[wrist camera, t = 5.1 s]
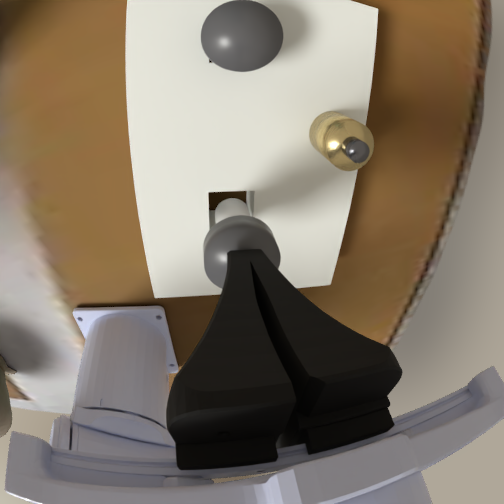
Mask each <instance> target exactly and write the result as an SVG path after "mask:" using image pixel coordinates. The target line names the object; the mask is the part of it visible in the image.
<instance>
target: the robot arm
mask: <svg viewBox="0 0 504 504" xmlns="http://www.w3.org/2000/svg"><path fill="white" fill-rule="evenodd" d="M73 315H74V317H75V319H76V321H77V323H78V325H79V327H80V329H81V331H82V333H83V335H84V337H85V339H86V341H85V346H84V350H83V355H82V359H81V364H80V369H79V374H78V379H77V385H76V390H75V396H74V403H73V409H72V413H71V415H70V417H69V416H66V415H61V416H60V417H58V418H56V419H54V421H53V425H52V430H51V436H50V442H49V443H47V442H46V441H44V440H43V439H40V438H38V437H35V436H31V435H27V434H23V433H19V432H15V431H12V433H11V438H10V444H9V451H8V459H7V468H6V479H5V491H6V493H8V494H11V495H13V496H15V497H18V498H21V499H23V500H26V501H29V502H32V503H35V504H432V501H431V498H430V495H429V493H428V490H427V487H426V484H425V481H424V479H423V476H422V474H421V471H422V470H424V469H426V468H428V467H430V466H432V465H434V464H436V463H437V462H439V461H441V460H443V459H444V458H446V457H448V456H450V455H451V454H453V453H454V452H456V451H458V450H459V449H461V448H463V447H464V446H466V445H467V444H469V443H470V442H472V441H473V440H475V439H476V438H478V437H479V436H481V435H482V434H484V433H485V432H486V431H488V430H489V429H490V428H492V427H493V426H494V425H496V424H497V423H498V422H499V421H501V420H502V419H503V418H504V383H503V381H502V379H501V378H500V376H499V374H498V372H497V371H496V369H495V367H494V366H492V367H490V368H488V369H486V370H484V371H482V372H481V373H479V374H478V375H477V376H475V377H474V378H473V379H472V380H471V381H470V382H469V383H468V385H467V386H465V387H463V388H461V389H459V390H458V391H455V392H453V393H451V394H449V395H447V396H445V397H443V398H441V399H439V400H437V401H434V402H432V403H430V404H427V405H425V406H423V407H421V408H418V409H415V410H413V411H410V412H408V413H405V414H403V415H400V416H398V417H395V418H392V417H391V415H390V413H389V410H388V408H387V407H389V406H390V402H389V399H388V397H387V395H388V394H389V393H390V392H391V390H392V389H393V388H394V387H395V385H396V384H397V383H398V381H399V380H400V378H401V376H402V369H401V367H400V366H399V363H398V361H397V359H396V357H395V355H394V354H393V352H392V351H391V349H390V348H389V347H388V346H385V345H383V344H381V343H378V342H376V341H374V340H371V339H369V338H367V337H365V336H363V335H361V334H359V333H357V332H355V331H353V330H351V329H350V328H348V327H346V326H345V325H343V324H341V323H340V322H338V321H337V320H335V319H334V318H332V317H330V316H329V315H328V314H326V313H325V312H323V311H322V310H321V309H319V308H318V307H317V306H316V305H314V304H313V303H312V302H310V301H309V300H308V299H307V298H306V297H305V296H304V295H303V294H302V293H300V292H299V291H298V290H297V289H296V288H295V287H294V286H293V285H292V284H291V283H290V282H289V281H288V280H287V279H286V277H285V276H284V275H283V274H282V273H281V272H280V271H279V270H278V269H277V267H276V266H275V265H274V264H273V263H272V262H271V260H270V259H269V258H268V257H267V255H266V254H265V253H264V252H263V251H262V250H261V249H249V250H232V251H229V252H228V253H227V273H226V277H225V282H224V286H223V289H222V292H221V295H220V298H219V301H218V304H217V307H216V309H215V312H214V314H213V316H212V319H211V321H210V323H209V325H208V327H207V329H206V331H205V333H204V335H203V336H202V338H201V340H200V342H199V343H198V345H197V346H196V348H195V350H194V351H193V353H192V354H191V356H190V357H189V359H188V360H187V362H186V363H185V364H184V366H183V367H182V368H181V370H180V371H179V372H178V364H177V360H176V356H175V353H174V349H173V345H172V341H171V337H170V332H169V328H168V324H167V320H166V315H165V311H164V308H163V307H161V306H136V307H99V308H75V309H74V311H73ZM158 315H160V316H158ZM80 317H81V318H80ZM176 372H178V374H177V375H176V376H175V378H174V381H173V384H172V387H171V390H170V393H169V373H176ZM274 471H278V472H276V473H272V474H267V475H262V476H258V477H252V478H247V479H241V480H235V481H228V482H221V483H214V481H213V480H211V479H215V478H227V477H237V476H246V475H254V474H261V473H268V472H274Z"/></svg>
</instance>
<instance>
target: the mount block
mask: <svg viewBox="0 0 504 504" xmlns="http://www.w3.org/2000/svg"><path fill="white" fill-rule="evenodd" d="M229 1H233V0H127V17H126V93H127V113H128V127H129V139H130V150H131V160H132V169H133V177H134V185H135V193H136V200H137V207H138V213H139V220H140V226H141V232H142V238H143V243H144V249H145V254H146V259H147V264H148V269H149V274H150V279H151V283H152V288H153V292H154V297H155V298H166V297H185V296H202V295H218V294H221V292H222V288H219V287H218V286H216V285H215V284H213V283H212V282H211V281H210V280H209V278H208V277H207V275H206V272H205V269H204V256H203V243H204V239H205V237H206V235H207V233H208V232H209V230H210V229H211V228H212V227H213V226H214V225H215V224H216V221H215V210H210V211H209V197H208V192H226V191H247V195H246V205H247V207H248V210H249V213H250V216H252V217H255V218H258V219H260V220H261V221H263V222H264V223H266V224H267V225H268V226H269V228H270V229H271V231H272V233H273V235H274V238H275V240H276V243H277V245H278V248H279V250H280V255H281V261H280V266H279V268H278V270H279V271H280V272H281V273H282V274H283V275H284V276H285V277H286V279H287V280H288V281H289V282H290V283H291V284H292V285H293V286H294V287H295V288H304V287H314V286H324V285H330V284H331V281H332V277H333V274H334V270H335V266H336V262H337V259H338V255H339V251H340V247H341V243H342V239H343V235H344V231H345V227H346V222H347V218H348V214H349V209H350V205H351V200H352V196H353V191H354V186H355V181H356V176H357V171H358V169H357V170H354V171H343V170H340V169H338V168H337V167H335V166H334V165H333V164H332V163H331V162H330V161H328V160H327V159H326V158H325V157H324V156H323V155H321V154H320V153H319V152H318V151H317V150H316V149H315V148H314V147H313V146H312V144H311V142H310V138H309V130H310V126H311V124H312V122H313V121H314V119H315V118H316V117H317V116H319V115H320V114H322V113H324V112H328V111H334V112H338V113H341V114H343V115H345V116H347V117H349V118H351V119H354V120H356V121H358V122H360V123H362V124H364V125H365V126H366V120H367V113H368V107H369V99H370V92H371V84H372V76H373V67H374V57H375V47H376V35H377V21H378V9H377V8H374V7H371V6H367V5H364V4H361V3H357V2H354V1H350V0H251V1H255V2H258V3H261V4H263V5H265V6H266V7H268V8H269V9H270V10H271V11H273V12H274V13H275V15H276V16H277V17H278V19H279V21H280V23H281V25H282V28H283V43H282V47H281V49H280V51H279V53H278V54H277V56H276V57H275V58H274V59H273V60H272V61H271V62H270V63H269V64H267V65H266V66H264V67H262V68H260V69H257V70H253V71H248V72H236V71H230V70H226V69H223V68H221V67H219V66H217V65H215V64H214V63H209V58H208V57H207V56H206V54H205V53H204V51H203V48H202V45H201V29H202V26H203V23H204V21H205V19H206V18H207V16H208V15H209V14H210V13H211V12H212V11H213V10H214V9H215V8H217V7H218V6H220V5H222V4H223V3H226V2H229Z"/></svg>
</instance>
